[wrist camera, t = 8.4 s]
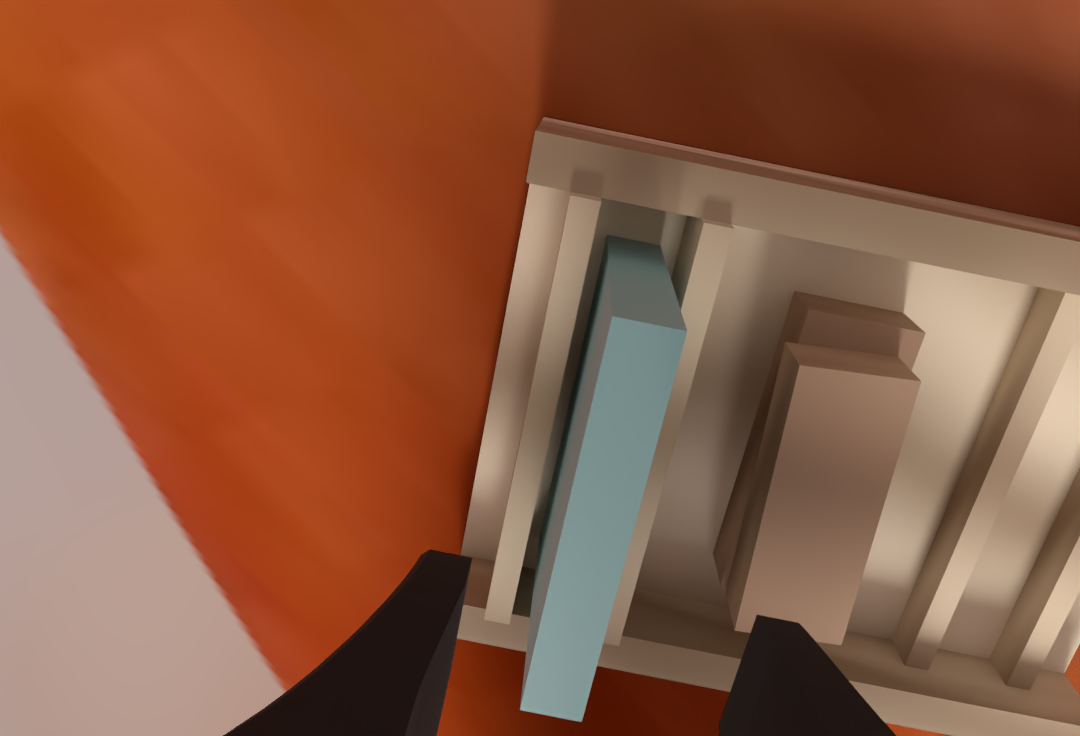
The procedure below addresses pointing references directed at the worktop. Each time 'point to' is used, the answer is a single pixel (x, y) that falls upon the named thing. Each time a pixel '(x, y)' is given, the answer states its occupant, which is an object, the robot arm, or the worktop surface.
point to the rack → (732, 402)
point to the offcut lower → (825, 328)
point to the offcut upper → (819, 487)
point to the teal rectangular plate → (601, 472)
